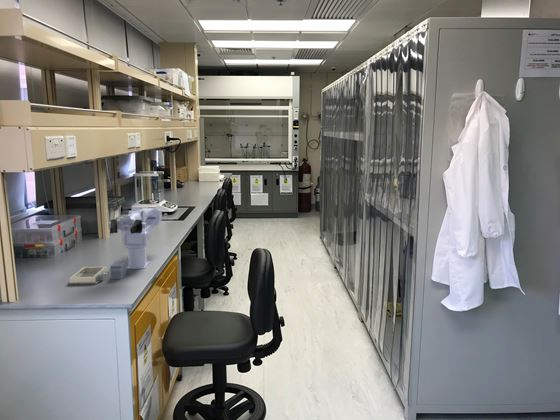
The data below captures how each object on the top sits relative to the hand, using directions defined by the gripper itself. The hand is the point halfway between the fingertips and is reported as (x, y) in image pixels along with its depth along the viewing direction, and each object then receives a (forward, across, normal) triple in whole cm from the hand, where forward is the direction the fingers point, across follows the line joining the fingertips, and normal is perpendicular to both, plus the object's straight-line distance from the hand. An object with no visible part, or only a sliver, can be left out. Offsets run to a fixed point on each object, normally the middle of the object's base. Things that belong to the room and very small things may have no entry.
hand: (121, 230), depth 171 cm
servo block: (-4, -3, +20) cm, 21 cm away
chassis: (-2, -14, +21) cm, 25 cm away
